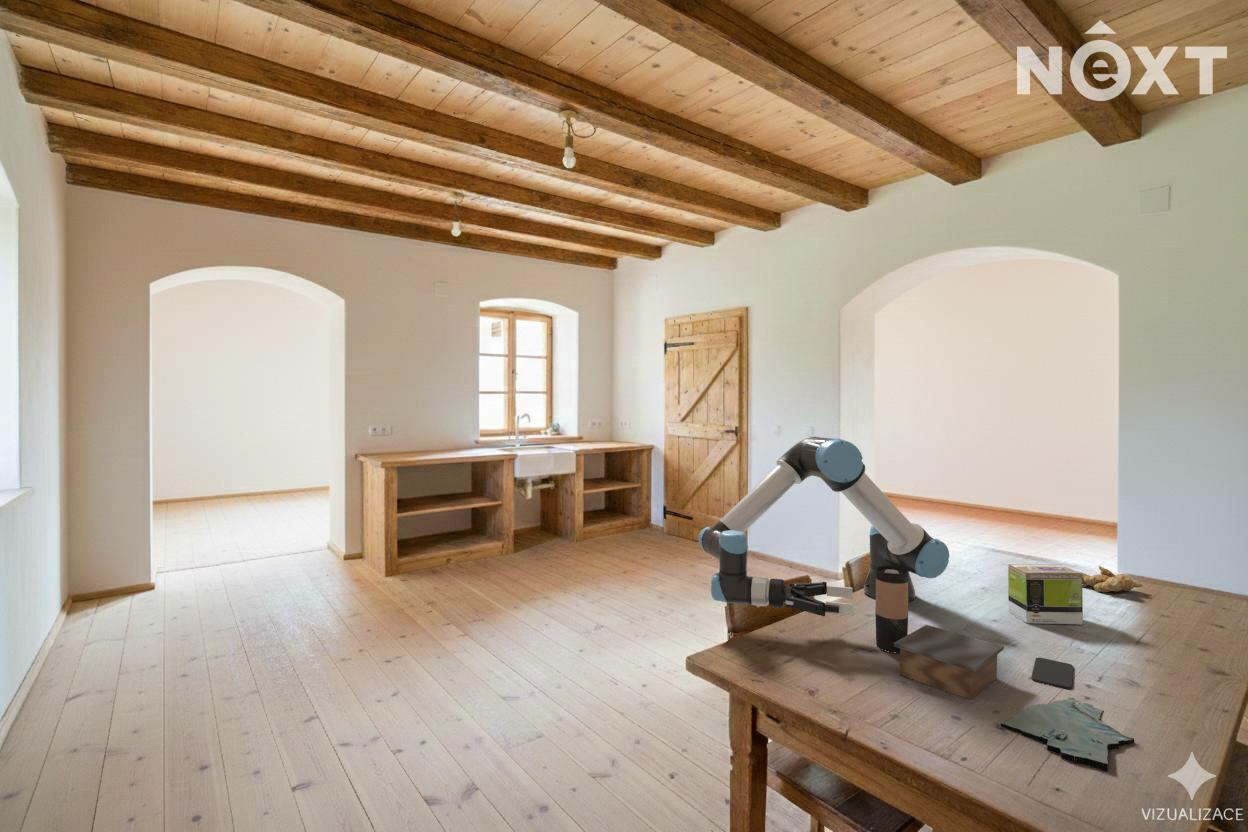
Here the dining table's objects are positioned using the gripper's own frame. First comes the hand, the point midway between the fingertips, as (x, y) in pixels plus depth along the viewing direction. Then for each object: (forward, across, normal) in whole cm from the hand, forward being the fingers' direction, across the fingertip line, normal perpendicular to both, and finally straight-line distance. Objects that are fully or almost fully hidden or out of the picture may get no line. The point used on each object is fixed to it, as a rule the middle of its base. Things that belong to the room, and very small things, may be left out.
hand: (853, 601), depth 156 cm
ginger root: (+80, -74, -11) cm, 109 cm away
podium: (+20, +13, -11) cm, 26 cm away
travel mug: (+9, 0, -11) cm, 14 cm away
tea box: (+52, -37, -11) cm, 65 cm away
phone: (+43, +3, -12) cm, 45 cm away
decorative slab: (+38, +30, -12) cm, 50 cm away
